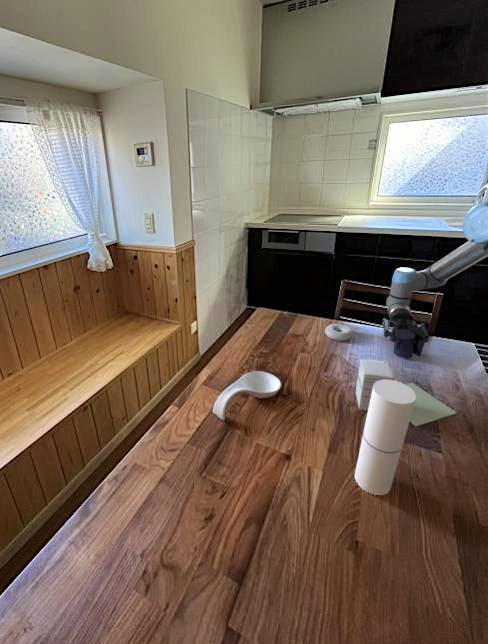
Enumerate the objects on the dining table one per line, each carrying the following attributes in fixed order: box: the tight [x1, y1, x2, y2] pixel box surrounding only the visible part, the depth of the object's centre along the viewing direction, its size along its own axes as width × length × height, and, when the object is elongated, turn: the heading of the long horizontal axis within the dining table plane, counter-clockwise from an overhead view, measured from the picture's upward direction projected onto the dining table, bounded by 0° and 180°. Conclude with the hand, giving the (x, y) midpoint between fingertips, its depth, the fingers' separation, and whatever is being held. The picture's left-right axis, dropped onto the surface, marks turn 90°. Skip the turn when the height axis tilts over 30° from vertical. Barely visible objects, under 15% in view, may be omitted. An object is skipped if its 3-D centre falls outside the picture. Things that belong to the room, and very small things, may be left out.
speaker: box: [393, 325, 425, 359], centre depth 115 cm, size 8×6×10 cm
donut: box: [324, 323, 354, 342], centre depth 131 cm, size 10×4×10 cm
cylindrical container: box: [354, 379, 416, 497], centre depth 70 cm, size 7×7×25 cm
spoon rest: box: [212, 370, 282, 421], centre depth 100 cm, size 24×12×7 cm, turn 127°
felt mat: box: [404, 382, 458, 428], centre depth 96 cm, size 14×14×1 cm
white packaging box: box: [355, 358, 395, 412], centre depth 94 cm, size 7×7×13 cm
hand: (409, 347), depth 109 cm, fingers closed on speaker, 6 cm apart
